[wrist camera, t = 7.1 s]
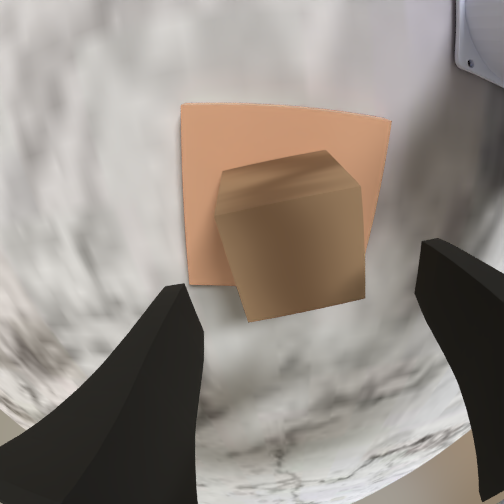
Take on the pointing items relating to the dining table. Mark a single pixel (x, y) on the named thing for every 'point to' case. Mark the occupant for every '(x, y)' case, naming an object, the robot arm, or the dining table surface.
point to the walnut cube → (292, 234)
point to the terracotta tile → (264, 149)
